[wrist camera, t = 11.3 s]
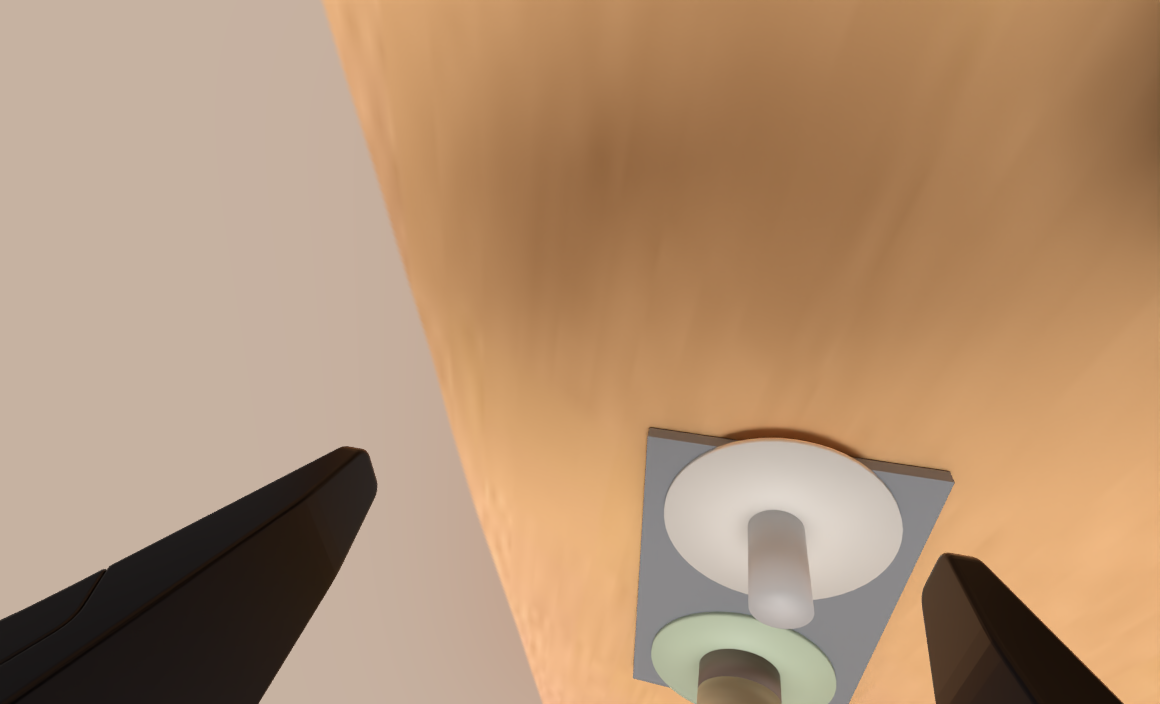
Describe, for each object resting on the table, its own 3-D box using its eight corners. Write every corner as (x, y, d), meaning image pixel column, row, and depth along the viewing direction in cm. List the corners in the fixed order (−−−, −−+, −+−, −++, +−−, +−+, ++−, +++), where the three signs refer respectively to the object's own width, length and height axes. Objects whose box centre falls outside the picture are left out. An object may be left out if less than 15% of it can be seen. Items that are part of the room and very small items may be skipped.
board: (958, 452, 21) (1009, 557, 17) (831, 726, 33) (843, 827, 29) (650, 409, 24) (631, 490, 20) (634, 677, 35) (619, 762, 31)
